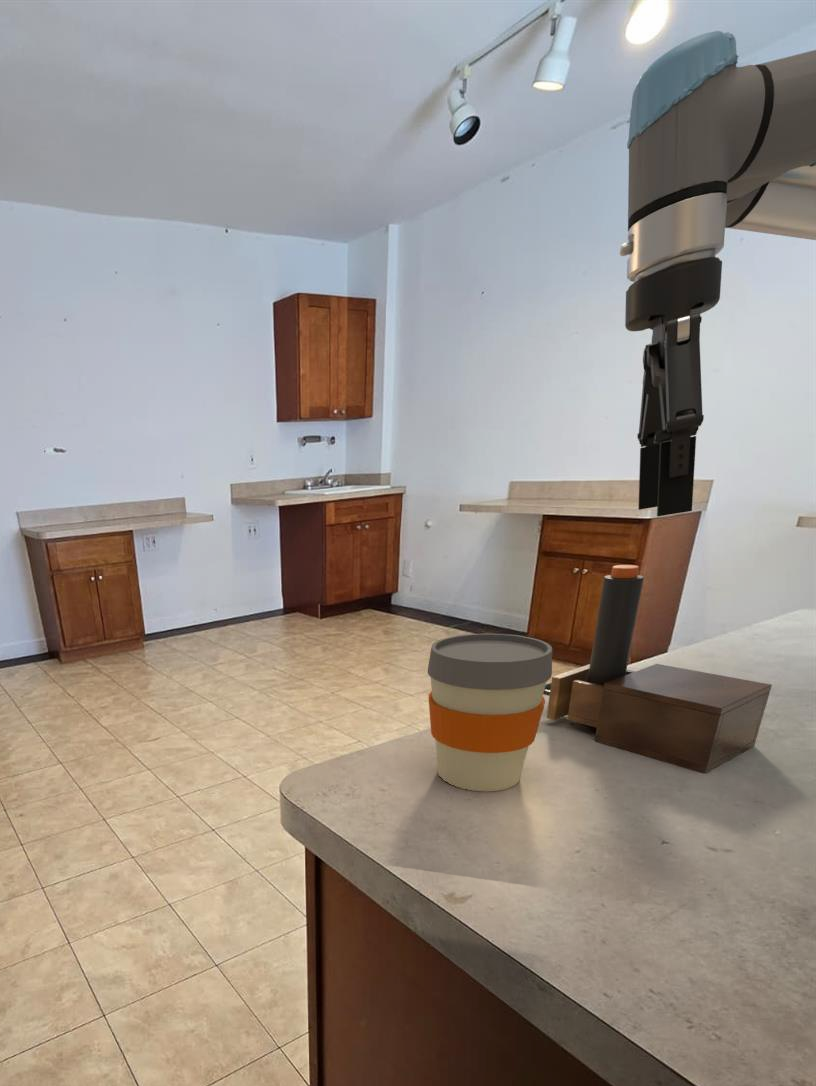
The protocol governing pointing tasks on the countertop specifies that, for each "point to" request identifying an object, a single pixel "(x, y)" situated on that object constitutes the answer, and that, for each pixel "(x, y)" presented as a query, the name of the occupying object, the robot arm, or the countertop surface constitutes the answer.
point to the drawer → (575, 697)
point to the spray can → (615, 624)
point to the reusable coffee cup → (486, 706)
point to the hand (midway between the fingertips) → (662, 510)
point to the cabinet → (682, 715)
